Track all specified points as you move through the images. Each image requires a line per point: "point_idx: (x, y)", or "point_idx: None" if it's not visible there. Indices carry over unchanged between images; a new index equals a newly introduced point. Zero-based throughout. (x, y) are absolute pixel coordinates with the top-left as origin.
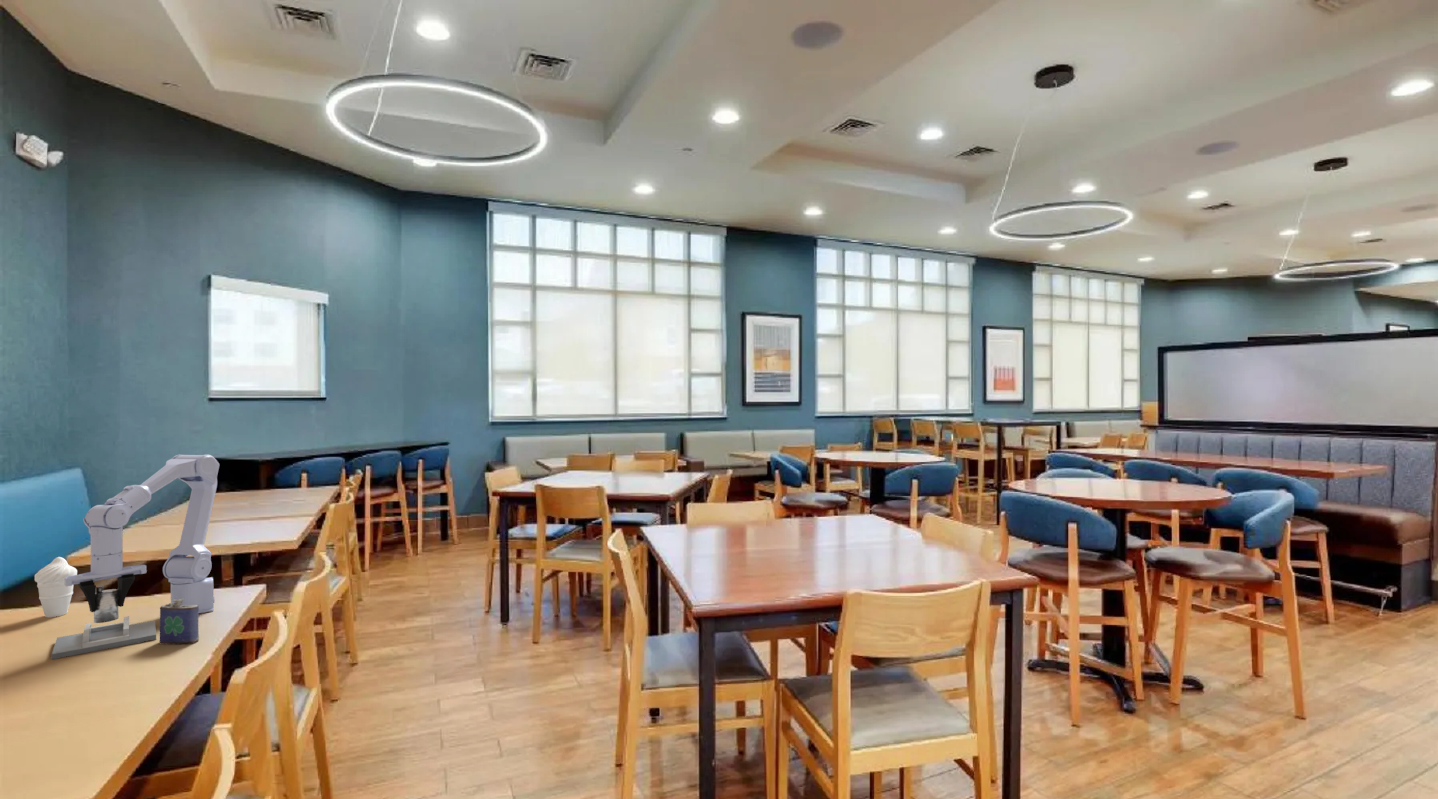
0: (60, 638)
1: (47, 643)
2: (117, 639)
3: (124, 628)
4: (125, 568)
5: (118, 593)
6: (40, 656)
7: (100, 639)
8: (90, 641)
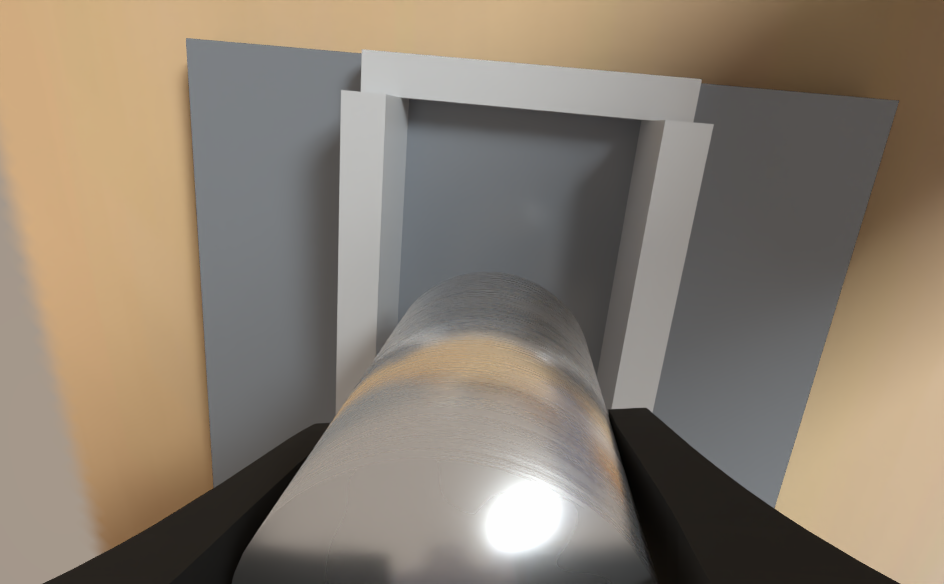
0: (212, 100)
1: (152, 8)
2: None
3: None
4: None
5: (661, 530)
6: (167, 346)
7: None
8: None
